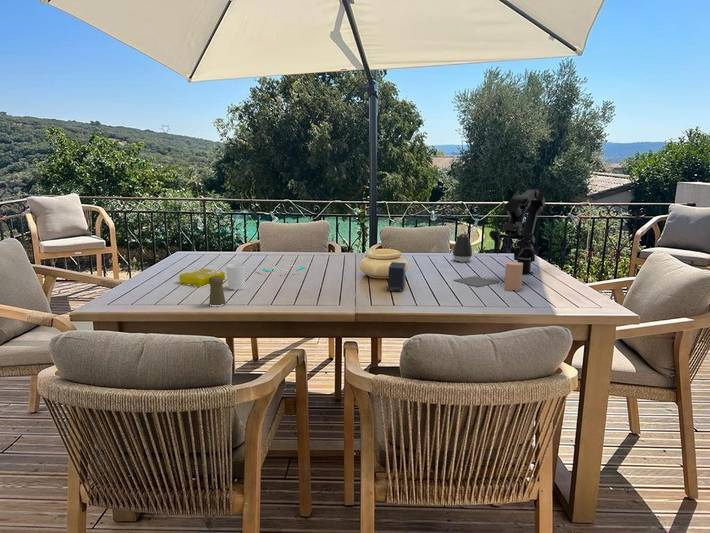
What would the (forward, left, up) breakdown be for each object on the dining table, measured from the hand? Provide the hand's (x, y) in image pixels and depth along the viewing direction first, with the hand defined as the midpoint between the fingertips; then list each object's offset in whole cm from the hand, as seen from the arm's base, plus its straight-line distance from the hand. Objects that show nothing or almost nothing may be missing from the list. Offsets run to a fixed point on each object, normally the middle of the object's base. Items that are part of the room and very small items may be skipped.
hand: (507, 254), depth 203 cm
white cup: (+102, -57, -13) cm, 118 cm away
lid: (+70, -80, -14) cm, 107 cm away
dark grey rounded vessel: (-20, -46, -13) cm, 51 cm away
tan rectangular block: (+4, +7, -13) cm, 16 cm away
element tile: (+111, -77, -14) cm, 136 cm away
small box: (+45, -20, -13) cm, 51 cm away
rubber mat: (+8, -10, -13) cm, 18 cm away
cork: (+116, -38, -13) cm, 123 cm away
